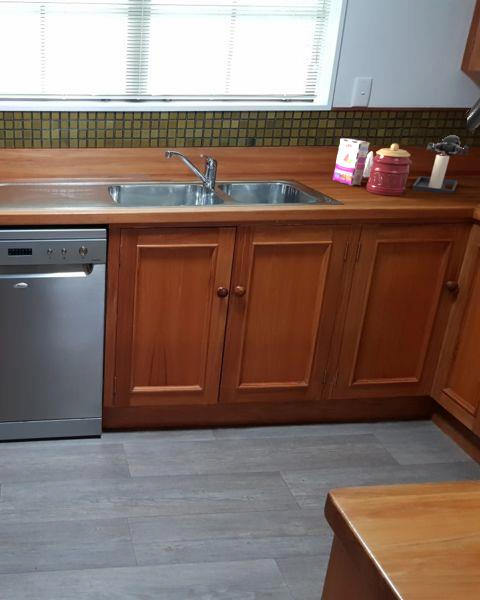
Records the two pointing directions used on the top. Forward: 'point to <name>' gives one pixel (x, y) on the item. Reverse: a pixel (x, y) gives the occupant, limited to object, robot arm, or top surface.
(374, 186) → the kitchen canister
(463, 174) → the top surface
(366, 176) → the shaker set
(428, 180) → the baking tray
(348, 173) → the candy bar box
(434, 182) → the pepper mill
